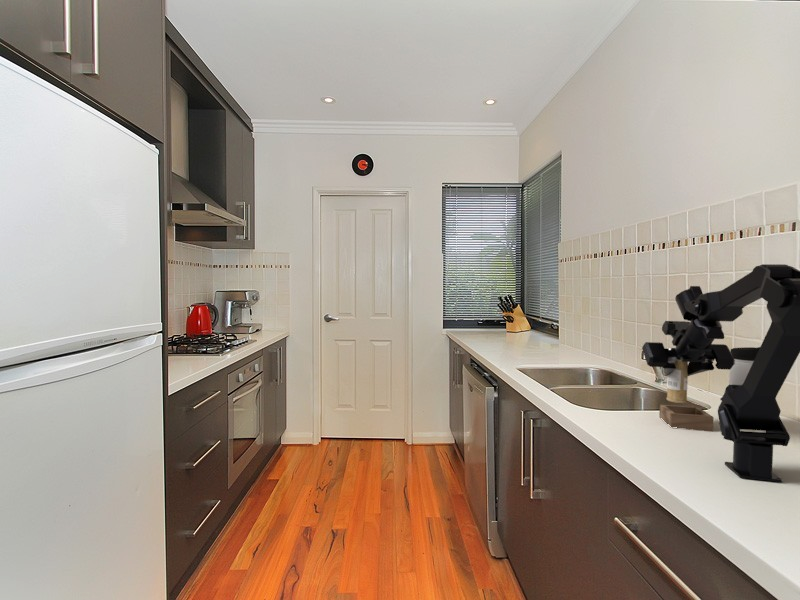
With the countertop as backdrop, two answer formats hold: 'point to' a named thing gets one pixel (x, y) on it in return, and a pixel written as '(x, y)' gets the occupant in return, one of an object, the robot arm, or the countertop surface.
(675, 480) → the countertop surface
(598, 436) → the countertop surface
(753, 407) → the robot arm
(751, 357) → the travel mug
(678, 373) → the sprinkles bottle
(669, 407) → the walnut collar
